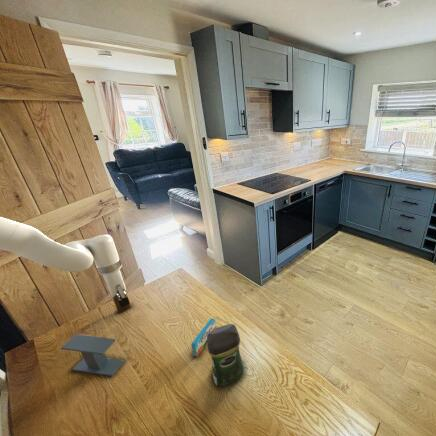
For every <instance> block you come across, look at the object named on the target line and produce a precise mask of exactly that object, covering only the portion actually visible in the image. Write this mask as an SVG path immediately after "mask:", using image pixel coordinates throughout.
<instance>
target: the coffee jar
mask: <svg viewBox="0 0 436 436" xmlns="http://www.w3.org/2000/svg"><path fill="white" fill-rule="evenodd" d="M240 345H241V336H240V333H239V331H238V328H237V327H236V325H235V324H233V323H227V324H224V325H222V326H219V327H216V329H214V330H212V331H210V332H209V333H208V335H207V344H206V348H207V351H208V354H209V355H210V357H211V371H212V378H213V382H214V384H215V385H216V386H217V387H219V388H222V387H225V386H229V385H231V384H233V383H235V382H236V381H238V380H240V379H241V378H242V377H243V375H244V371H245V370H244V363H243V360H242V356H241V352H240Z"/></svg>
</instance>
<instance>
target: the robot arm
mask: <svg viewBox="0 0 436 436" xmlns="http://www.w3.org/2000/svg"><path fill="white" fill-rule="evenodd" d="M0 250H2V251H6V252H10V253H13V254H16V255H18V256H19V257H21V258H24V259H27V260H30V261H31V262H34V263H36V264H39V265H41V266H45V267H47V268H52V269H54V270H55V269H56V270H60V271H64V272H70V273H80V272H84V271H87V270H88V269H89V268H90V267H92V265H93V263H94V265H95V268H96V270H97V272H98V274H99V275H101V276H102V277H103V279H104V283H105V286H106V289H107V290H108V292H109V293H110V296H112V297H114V296H116V295H117V297H118V302H119V304H120V307H121V308H122V307H124V306H127V305H129V304H130V305H131V301H130V299H129V297H128V295H126V294H127V293H126V291H127V287H126V284H125V281H124V278H123V275H122V272H121V270H120V269H122V267H123V264H122V261H121V260H120V256H119V253H118V250H117V247H116V244H115V241H114V238H113V236H111V235H110V234H100V235H96V236H93V237H91V238H86V239H80V240H79V239H78V240H73V241H69V242H66V243H65V244H61V243H59V242H56V241H55V240H52V239H50V238H49V237H47V235H45V234H44V233H42V231H40V230H38V229H37V228H35V227H33V226H31V225H28V224H25V223H21V222H18V221H15V220H12V219H10V218H6V217H3V216H0ZM119 294H120V297H119Z"/></svg>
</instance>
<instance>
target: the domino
mask: <svg viewBox="0 0 436 436" xmlns="http://www.w3.org/2000/svg"><path fill="white" fill-rule="evenodd" d="M126 295H127V293H126ZM127 296H128V295H127ZM119 297H120V294H119ZM112 300H113V304H114V306H115V309H116V311H117V313H118V314H120V313H122V312H124V311H127V310H129V309H131V307H132V306H131V303H130V304H129V305H127V306H124V307H122V308H121V307H120V304H119V302H118V297H117V295H116V296H112Z"/></svg>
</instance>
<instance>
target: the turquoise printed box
mask: <svg viewBox="0 0 436 436" xmlns="http://www.w3.org/2000/svg"><path fill="white" fill-rule="evenodd" d="M216 328H217V323H216V318H213V317H211V318H210V319H209V320H208V321H207V322H206V324H205V325H204V327H203V328H202V329H201V330H200V332H199V333H198V334H197V335H196V337H195V338H194V339H193V341H192V342H191V344H190V345H191V346H190V347H191V351H192V355H193V357H198V356H199V355H200V354H201V352H202V350H203V349H204V348H205V347H206V346H207V335H208V333H209V332H210V331H212V330H214V329H216Z"/></svg>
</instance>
